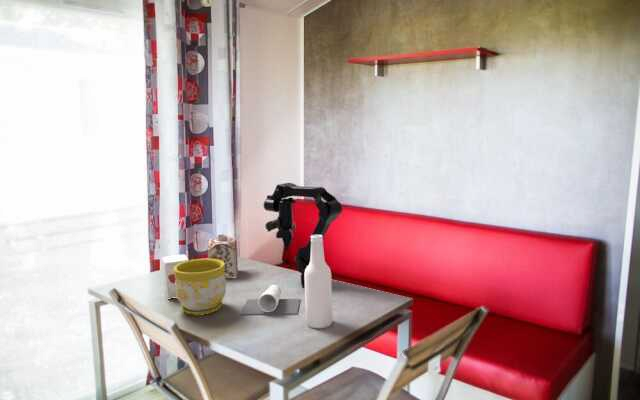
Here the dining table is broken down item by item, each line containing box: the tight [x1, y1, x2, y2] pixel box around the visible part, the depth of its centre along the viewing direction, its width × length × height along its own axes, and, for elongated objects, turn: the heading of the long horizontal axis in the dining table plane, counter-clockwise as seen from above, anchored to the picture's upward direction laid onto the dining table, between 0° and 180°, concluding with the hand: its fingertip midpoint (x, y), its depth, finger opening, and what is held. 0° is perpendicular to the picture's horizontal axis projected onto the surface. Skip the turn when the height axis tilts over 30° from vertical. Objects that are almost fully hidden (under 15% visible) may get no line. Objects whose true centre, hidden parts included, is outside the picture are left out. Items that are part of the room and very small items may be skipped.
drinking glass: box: [258, 284, 282, 312], centre depth 179 cm, size 7×7×15 cm
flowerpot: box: [174, 258, 227, 316], centre depth 177 cm, size 18×18×16 cm
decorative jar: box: [207, 233, 239, 279], centre depth 216 cm, size 12×12×18 cm
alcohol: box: [304, 234, 333, 330], centre depth 161 cm, size 9×9×30 cm
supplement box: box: [161, 253, 189, 299], centre depth 193 cm, size 9×9×15 cm
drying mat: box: [239, 298, 301, 316], centre depth 179 cm, size 20×14×1 cm
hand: (286, 249), depth 207 cm, fingers closed
